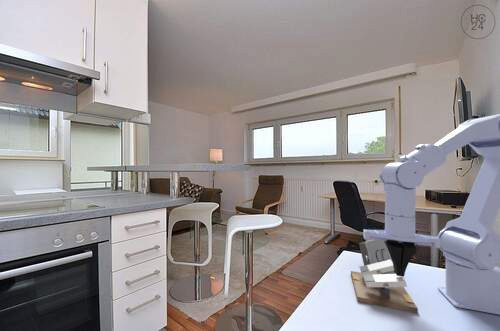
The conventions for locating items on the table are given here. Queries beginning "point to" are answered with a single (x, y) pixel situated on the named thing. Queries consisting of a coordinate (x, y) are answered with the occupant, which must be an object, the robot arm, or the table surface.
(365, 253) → the electrical switch
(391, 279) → the block
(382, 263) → the rear rocker
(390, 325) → the table surface
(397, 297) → the switch board
